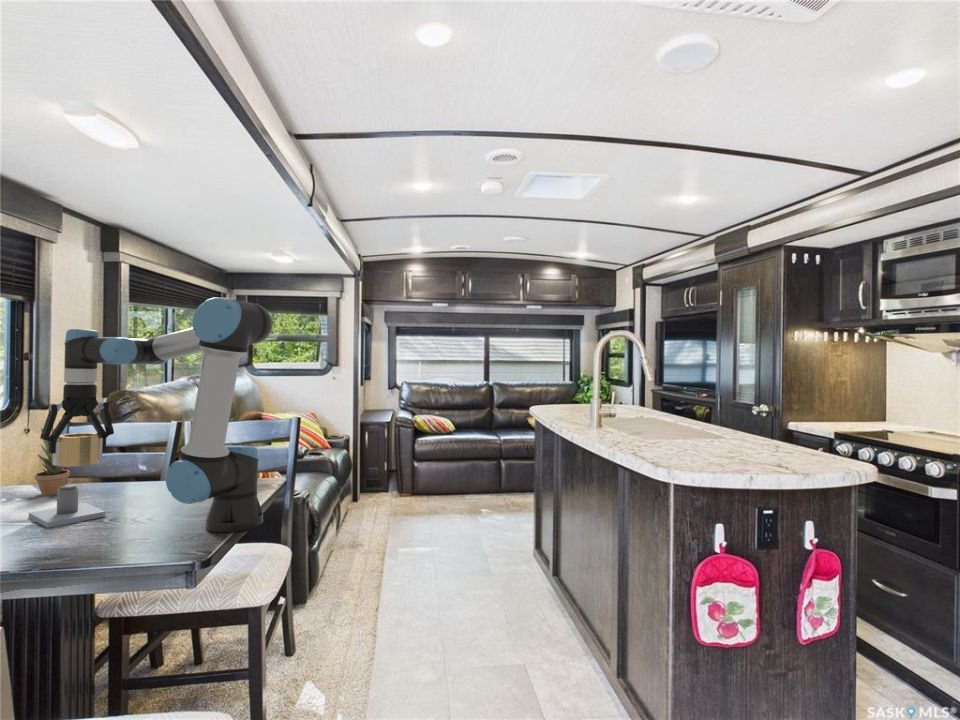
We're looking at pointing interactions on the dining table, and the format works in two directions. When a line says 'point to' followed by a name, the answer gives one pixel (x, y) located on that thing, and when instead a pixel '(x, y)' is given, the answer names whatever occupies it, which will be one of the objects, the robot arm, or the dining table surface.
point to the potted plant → (50, 474)
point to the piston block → (66, 509)
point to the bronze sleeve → (79, 449)
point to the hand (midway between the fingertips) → (77, 462)
